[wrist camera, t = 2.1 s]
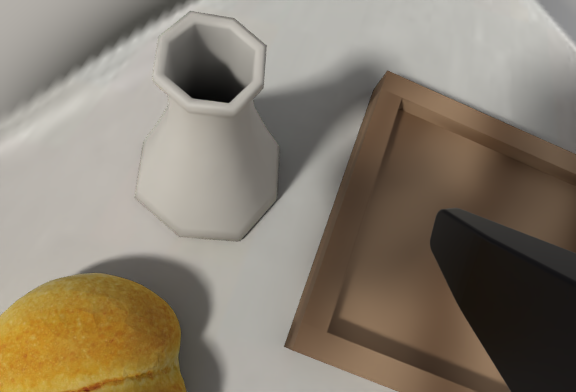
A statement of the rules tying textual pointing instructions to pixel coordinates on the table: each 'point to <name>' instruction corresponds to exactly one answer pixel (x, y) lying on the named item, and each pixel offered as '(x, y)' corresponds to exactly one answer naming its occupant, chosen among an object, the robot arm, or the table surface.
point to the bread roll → (90, 338)
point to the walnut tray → (422, 238)
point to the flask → (209, 132)
